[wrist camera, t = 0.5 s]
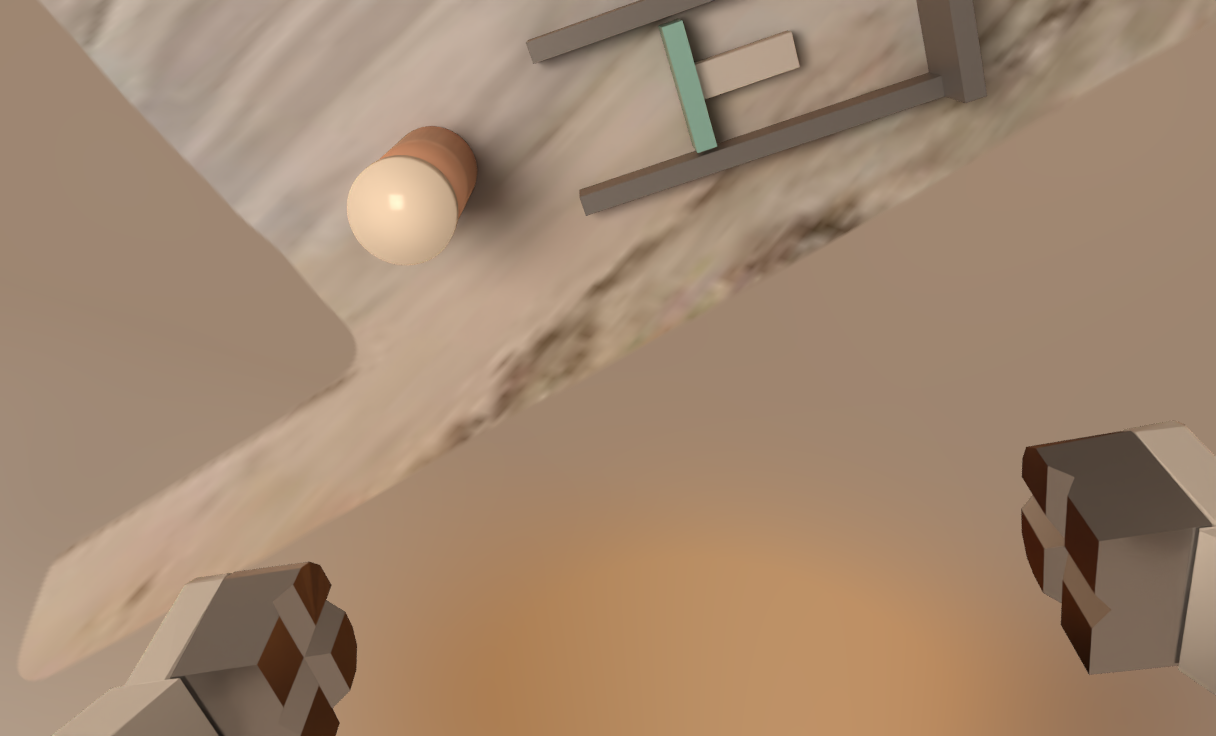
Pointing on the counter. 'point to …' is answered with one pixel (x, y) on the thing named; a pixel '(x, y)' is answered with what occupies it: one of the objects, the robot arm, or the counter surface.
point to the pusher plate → (720, 73)
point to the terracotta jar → (413, 196)
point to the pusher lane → (949, 76)
